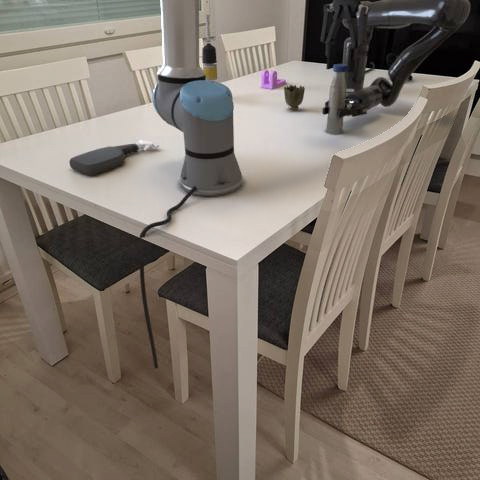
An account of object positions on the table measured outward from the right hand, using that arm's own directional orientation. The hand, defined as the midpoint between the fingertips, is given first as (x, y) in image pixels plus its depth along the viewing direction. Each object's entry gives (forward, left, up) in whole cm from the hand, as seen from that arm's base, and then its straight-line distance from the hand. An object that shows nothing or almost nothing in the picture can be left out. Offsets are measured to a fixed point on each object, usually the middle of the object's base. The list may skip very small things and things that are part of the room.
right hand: (331, 112), depth 137 cm
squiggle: (-81, +20, -7) cm, 84 cm away
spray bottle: (+38, -54, -7) cm, 66 cm away
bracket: (-58, -32, -7) cm, 67 cm away
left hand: (-2, +1, +12) cm, 12 cm away
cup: (-23, -16, -7) cm, 29 cm away
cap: (-2, +1, +13) cm, 13 cm away
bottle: (-2, +1, -7) cm, 7 cm away
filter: (-30, -52, -7) cm, 60 cm away
